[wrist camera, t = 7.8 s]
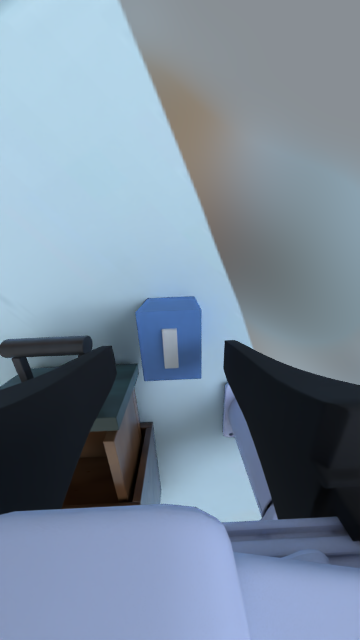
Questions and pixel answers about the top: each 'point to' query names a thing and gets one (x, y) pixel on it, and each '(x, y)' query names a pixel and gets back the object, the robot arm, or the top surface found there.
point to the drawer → (107, 431)
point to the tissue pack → (170, 338)
